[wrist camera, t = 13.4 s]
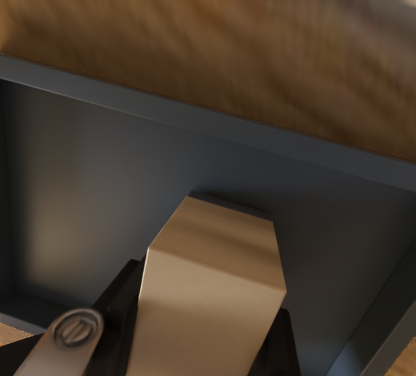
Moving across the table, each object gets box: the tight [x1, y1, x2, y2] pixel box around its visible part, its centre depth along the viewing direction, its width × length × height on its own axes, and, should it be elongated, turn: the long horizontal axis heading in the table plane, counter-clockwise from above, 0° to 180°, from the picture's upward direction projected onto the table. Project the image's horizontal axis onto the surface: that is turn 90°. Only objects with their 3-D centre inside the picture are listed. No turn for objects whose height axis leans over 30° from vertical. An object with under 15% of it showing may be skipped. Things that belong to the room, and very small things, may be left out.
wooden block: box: [126, 190, 287, 376], centre depth 9 cm, size 7×4×4 cm, turn 166°
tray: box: [0, 52, 416, 376], centre depth 11 cm, size 20×14×2 cm
